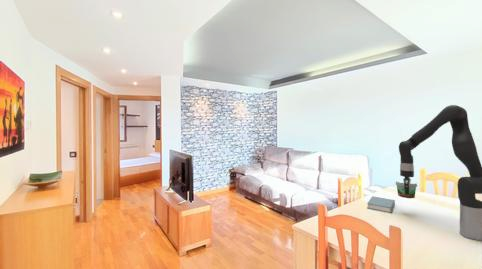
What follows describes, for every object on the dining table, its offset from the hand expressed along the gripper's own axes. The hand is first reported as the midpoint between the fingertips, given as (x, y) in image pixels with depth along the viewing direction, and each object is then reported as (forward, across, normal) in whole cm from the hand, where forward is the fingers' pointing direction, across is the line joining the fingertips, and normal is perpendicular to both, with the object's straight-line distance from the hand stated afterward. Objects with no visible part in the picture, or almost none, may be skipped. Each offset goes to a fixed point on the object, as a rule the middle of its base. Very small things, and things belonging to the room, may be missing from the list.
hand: (407, 193), depth 147 cm
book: (+15, +6, +16) cm, 22 cm away
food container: (+3, -1, 0) cm, 3 cm away
